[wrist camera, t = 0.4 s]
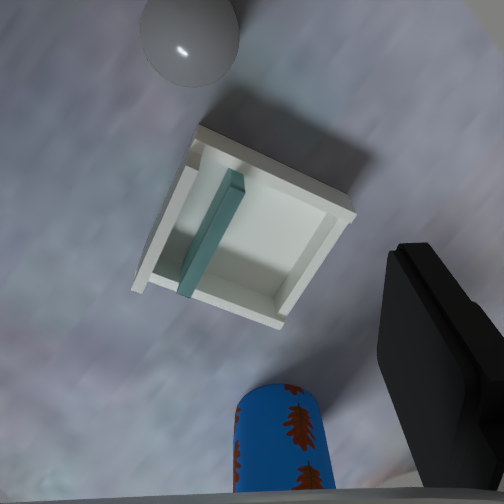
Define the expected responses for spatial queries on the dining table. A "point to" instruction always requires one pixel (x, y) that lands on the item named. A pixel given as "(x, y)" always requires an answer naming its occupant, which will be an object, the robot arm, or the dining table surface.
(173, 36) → the amber jar
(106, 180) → the dining table surface
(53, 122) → the dining table surface
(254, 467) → the thermos
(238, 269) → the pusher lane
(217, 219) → the plate
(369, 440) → the dining table surface
